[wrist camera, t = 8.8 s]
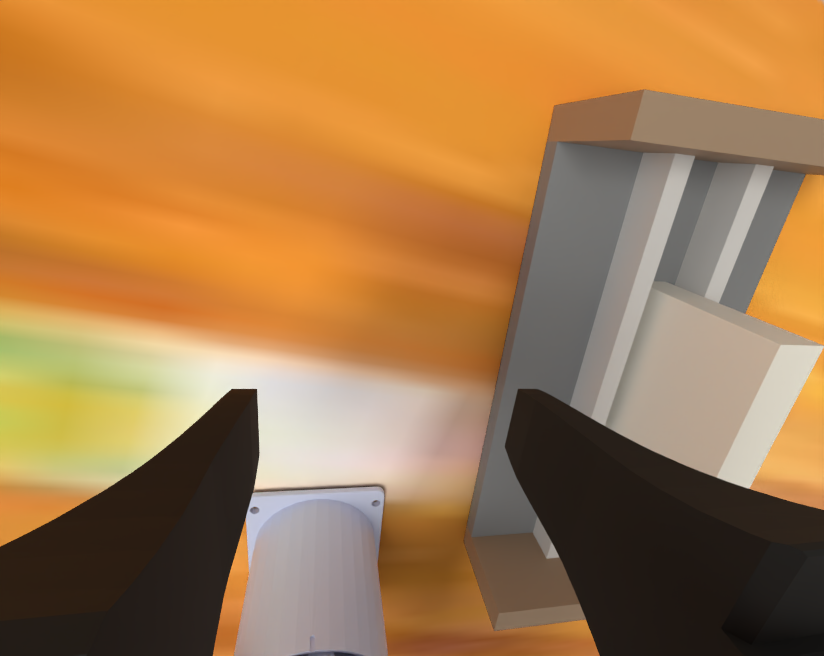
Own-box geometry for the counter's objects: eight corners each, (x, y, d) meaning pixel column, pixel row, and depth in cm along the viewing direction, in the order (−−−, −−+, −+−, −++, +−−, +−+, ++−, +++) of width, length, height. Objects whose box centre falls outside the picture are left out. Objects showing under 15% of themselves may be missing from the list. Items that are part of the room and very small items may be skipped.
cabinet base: (638, 527, 32) (701, 604, 27) (463, 540, 29) (494, 631, 24) (799, 142, 22) (954, 141, 16) (554, 105, 19) (644, 89, 14)
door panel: (603, 460, 27) (703, 574, 20) (576, 462, 27) (667, 578, 20) (666, 282, 23) (824, 346, 15) (633, 279, 22) (780, 344, 15)
